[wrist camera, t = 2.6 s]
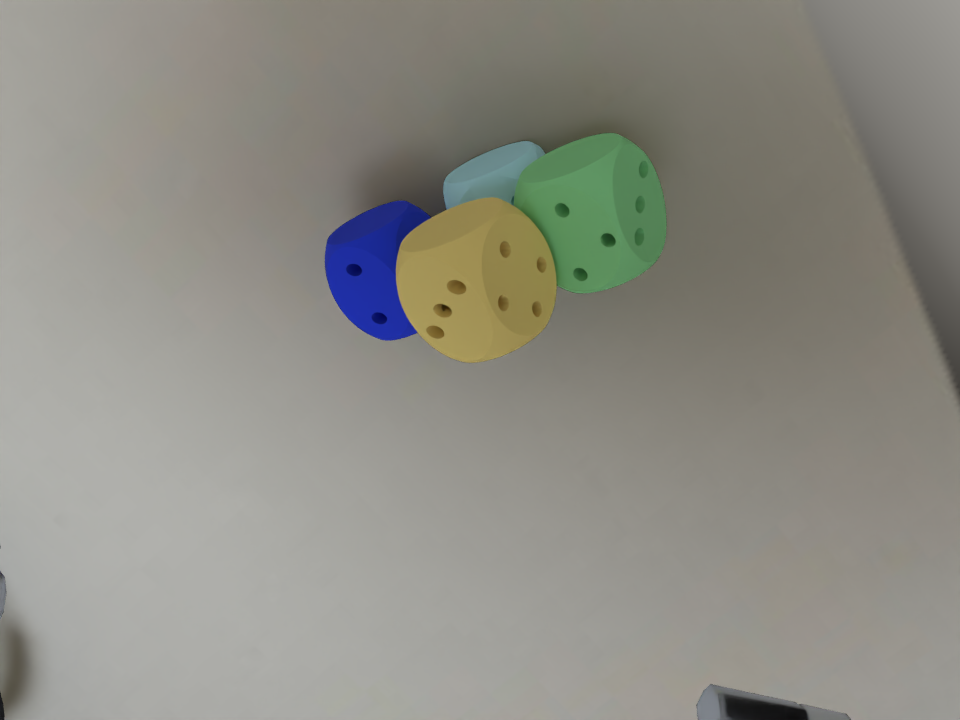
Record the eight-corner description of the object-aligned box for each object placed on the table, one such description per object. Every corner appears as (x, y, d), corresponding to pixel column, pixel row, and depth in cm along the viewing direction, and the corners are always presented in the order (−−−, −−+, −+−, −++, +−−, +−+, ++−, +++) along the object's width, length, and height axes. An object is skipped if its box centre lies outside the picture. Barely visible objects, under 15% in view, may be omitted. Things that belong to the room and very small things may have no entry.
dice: (386, 292, 24) (319, 422, 19) (342, 207, 23) (258, 318, 18) (671, 194, 22) (689, 310, 17) (637, 93, 21) (644, 181, 15)
